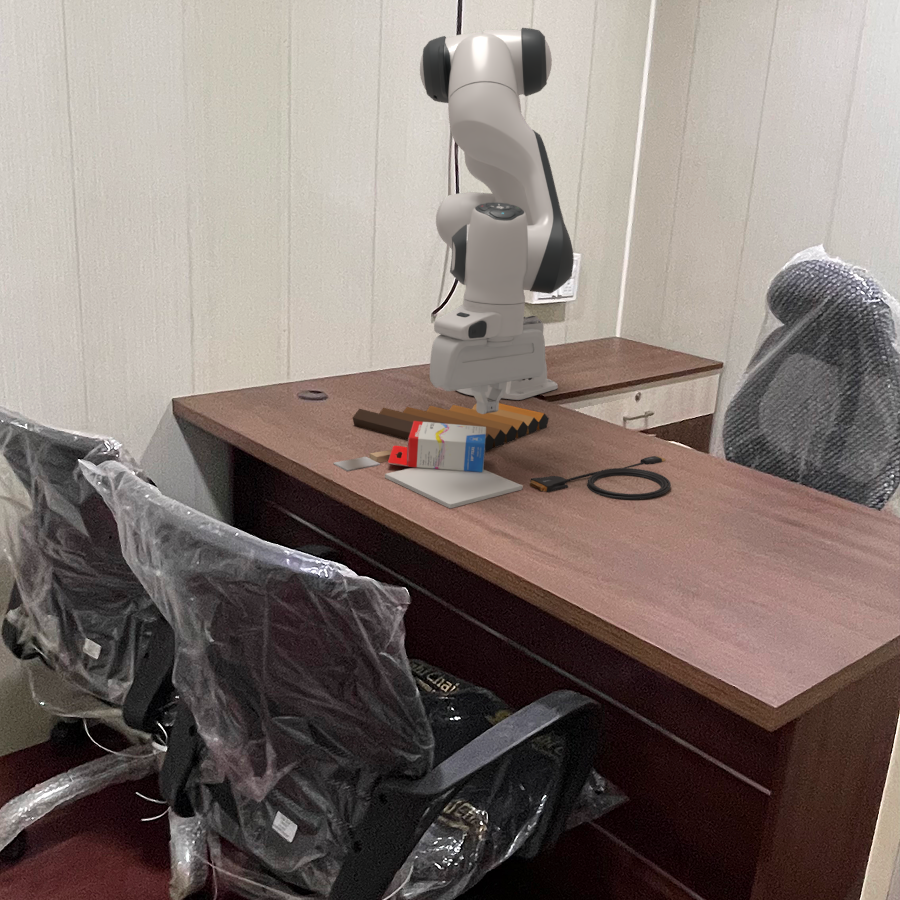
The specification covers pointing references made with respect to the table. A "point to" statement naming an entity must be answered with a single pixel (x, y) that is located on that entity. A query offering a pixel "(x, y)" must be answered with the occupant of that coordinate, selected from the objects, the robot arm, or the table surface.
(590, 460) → the table surface
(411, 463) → the ink box
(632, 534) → the table surface
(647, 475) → the cable
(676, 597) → the table surface
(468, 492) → the mat
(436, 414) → the pan flute
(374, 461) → the turner
